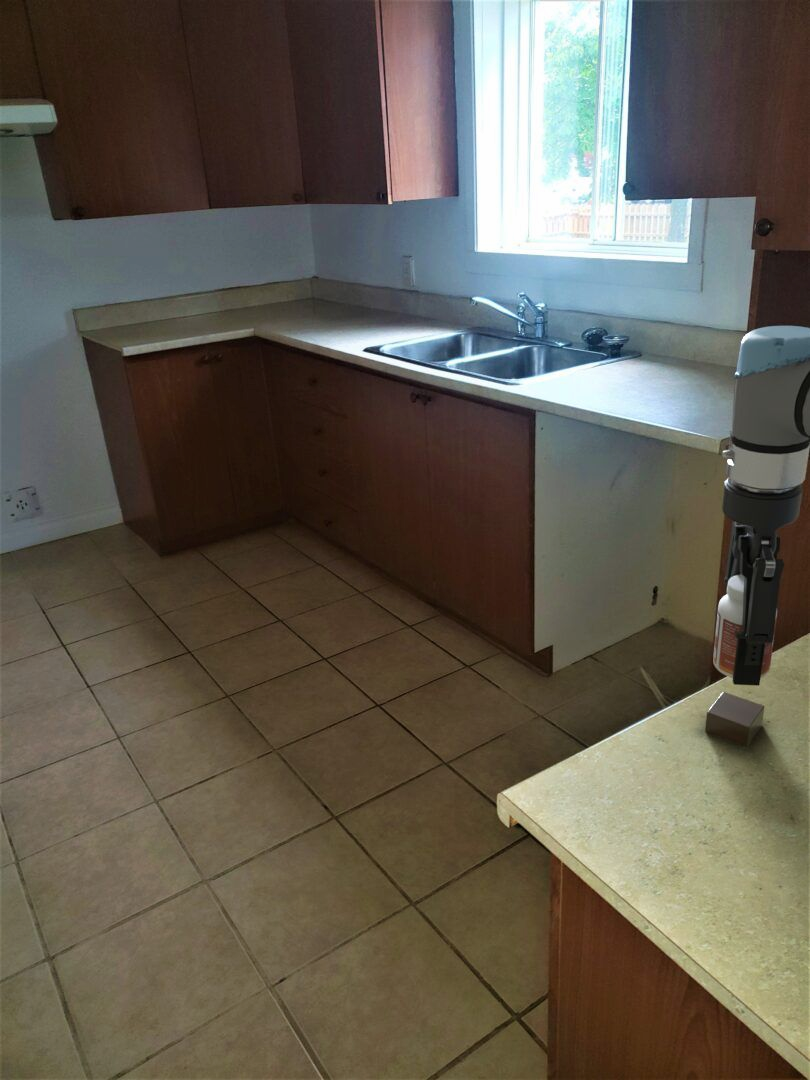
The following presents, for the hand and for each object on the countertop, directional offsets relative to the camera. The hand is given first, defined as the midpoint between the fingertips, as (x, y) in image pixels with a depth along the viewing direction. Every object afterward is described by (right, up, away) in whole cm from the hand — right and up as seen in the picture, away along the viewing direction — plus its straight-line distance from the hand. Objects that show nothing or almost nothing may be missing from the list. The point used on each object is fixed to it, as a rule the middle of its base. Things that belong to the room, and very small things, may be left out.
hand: (739, 665), depth 95 cm
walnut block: (+1, -8, +4) cm, 9 cm away
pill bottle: (0, 0, 0) cm, 0 cm away
